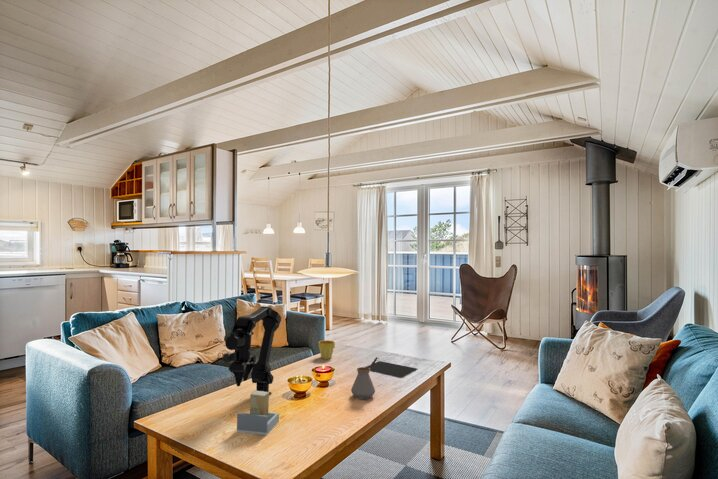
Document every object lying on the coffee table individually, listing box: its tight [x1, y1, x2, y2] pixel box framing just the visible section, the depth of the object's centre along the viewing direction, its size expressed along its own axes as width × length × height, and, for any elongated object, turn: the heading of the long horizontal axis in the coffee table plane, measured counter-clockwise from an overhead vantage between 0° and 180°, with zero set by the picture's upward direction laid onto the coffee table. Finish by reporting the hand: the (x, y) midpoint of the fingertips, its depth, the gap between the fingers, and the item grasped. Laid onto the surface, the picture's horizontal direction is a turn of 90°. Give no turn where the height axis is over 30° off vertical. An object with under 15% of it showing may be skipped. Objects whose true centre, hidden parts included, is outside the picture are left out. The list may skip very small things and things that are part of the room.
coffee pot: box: [350, 357, 380, 400], centre depth 195 cm, size 21×12×15 cm, turn 152°
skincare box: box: [249, 389, 270, 416], centre depth 157 cm, size 6×4×12 cm
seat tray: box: [236, 411, 280, 436], centre depth 157 cm, size 12×12×7 cm
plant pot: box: [318, 339, 336, 360], centre depth 255 cm, size 10×10×10 cm
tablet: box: [365, 360, 419, 379], centre depth 233 cm, size 27×1×20 cm
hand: (241, 383), depth 172 cm, fingers open, 9 cm apart
